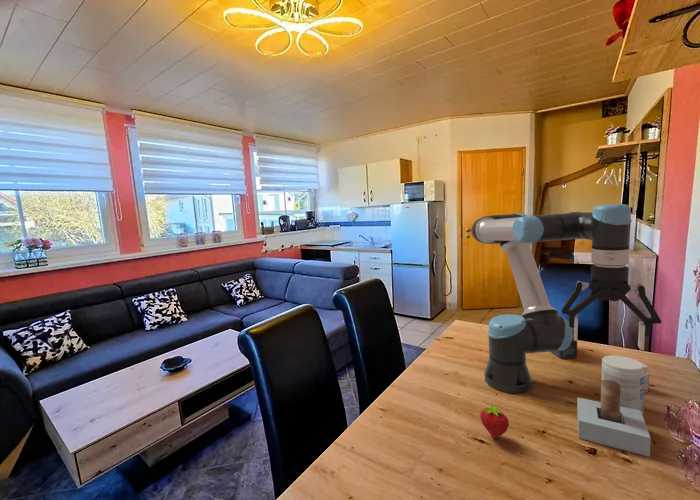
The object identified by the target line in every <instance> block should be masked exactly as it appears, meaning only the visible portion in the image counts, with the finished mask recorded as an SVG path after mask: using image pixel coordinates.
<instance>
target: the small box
mask: <svg viewBox="0 0 700 500" xmlns="http://www.w3.org/2000/svg"><path fill="white" fill-rule="evenodd" d="M572 332H573V338H572V341H571V344H570V346H569V347H568V348H567V349H565V350H561V351H556V352H551V353H552V354H553V355H554V356H556V357H558V358H559V359H561V360H563V359H564V360H565V359H577V358H578V340H577V341H574V328H572Z"/></svg>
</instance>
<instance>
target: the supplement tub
mask: <svg viewBox="0 0 700 500" xmlns="http://www.w3.org/2000/svg"><path fill="white" fill-rule="evenodd" d="M601 361H602V362H601V381H602V380H611V381H615V382H617V383H619V384H620V386H621V388H620V406H621V407H626V408H631V409H636V410H640V411H641V413H642V415H644V406H645V405H644V403H645V402H644V401H645V400H644V397H645V393H644V369H643V365H642V364H641V363H642V362H641V361H638V360H636V359H634V358H631V357H627V356H621V355H605V356H603V357H602V360H601Z"/></svg>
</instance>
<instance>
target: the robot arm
mask: <svg viewBox="0 0 700 500" xmlns="http://www.w3.org/2000/svg"><path fill="white" fill-rule="evenodd" d="M631 216H632V214H631V207H630V206H629V205H628V204H624V203H623V204H622V203H621V204H619V203H617V204H616V203H615V204H603V205H602V204H601V205H600V204H599V205H594V206H593V208H592V212H589V211H587V212H586V211H585V212H583V211H570V212H566V213H565V212H564V213H556V214H555V213H553V214H541V215H540V214H539V215H538V214H537V215H528V214H526V213H518V212H514V213H508V214H493V215H491V214H490V215H485V216H482V217H480V218H478V219H476V220H475V221H474V222H473V224H472V226H471V230H470V231H471V235H472V237H473V239H474V240H475V241H476V242H478V243H481V244H485V245H496V244H497V245H498V244H499V246H500V249H501V251H503V252H505V253H506V256H507V258H508V262H509V264H510V268H511V271H512V274H513V279H514V281H515V285H516V288H517V291H518V294H519V298H520V301H521V304H522V308H523V311H522V314H521V315H520V314H519V315H518V314H514V313H513V314H509V313H508V314H507V313H505V314H500V315H497V316H494V317H492V318H491V319H490V320H489V322H488V330H487V335H488V354H489V356H488V357H489V359H488V362H487V363H486V364H487V365H486V367H485V369H484V374H483V375H484V381H485V383H486V382H487V383H488V384H489V385H488V384H487V383H486V384H487V385H488V386H490V387H491V386H492V387H491V388H493V387H494V388H493V389H495V388H496V389H495V390H497V389H498V390H497V391H500V390H501V392H505V393H509V394H510V393H511V394H521V393H522V394H523V393H526V392H528V391H530V390H531V389H532V387H533V382H532V381H533V379H532V377H531V373H530V370H529V368H528V365H527V363H526V362H527V359H526V357H527V354H536V353H552V352H556V351H561V350H565V349H567V348H568V347H569V346H570V344H571V341H572V338H573V332H572V328H574V341H577V342H578V334H579V332H578V331H579V330H578V327H579V324H578V323H579V316H578V315H579V313H581V312H582V310H584V309H586V308H587V307H588V306H589V305H590V304H592V303H594V302H595V301H596V300H597V299H598V300H600V301H611V302H618V301H622V303H623V304H625V306H627V308H628V309H629V310H631V312H632V313H634V314H635V315H636V316H637V317H638V318H639V319H640V320H641V321H638V337H637V338H638V339H637V340H638V341H637V346H638V348H639V350H640V351H645V338H649V337H650V336H651V329H652V325H656V324H657V325H659V324H662V320H661V318H660V316H659V314H658V313H657V311H656V310H655V308H654V306H653V304H652V303H651V301H650V300H649V298H648V297H647V295H646V288H645V286H644V285H643V284H642V283H638V284H634V285H633V284H629V271H630V270H629V266H627V265H629V263H630V241H631V240H630V239H631V227H632V224H631V223H632V217H631ZM569 240H587V241H588V240H590V241H591V258H590V259H591V263H592V265H591V266H590V281H589V282H585V281H582V280H577V281H576V282H575V283H576V285H575V288H574V290H573V291H572V293H571V294H570V296H569V297H568V299H567V300H566V301H565V304H564V305H563V306H562V307H561V313H562V314H563V315H567V316H568V317H569V318H568V319H567V318H566V317H565V316H562V315H559V312H558V309H556V308H555V307H553V306H552V305H551V304H550V301H549V297H548V295H547V292H546V289H545V286H544V283H543V281H542V277H541V275H540V272H539V269H538V266H537V265H538V264H537V263H536V260H535V258H534V257H535V255H534V254H533V250H532V248H531V246H532V244H533V243H541V242H551V241H569ZM587 288H588V289H589V290H590V291H591V292H590V293H589V294H588V295H587V296H586V297H585V298H584V299H583V300H581V301H580V302H579V303H577V304H576V305H575V306H574V307H573V308H572V309H571V307H572V306H573V304H574V303H575V302H576V300H577V299H578V297H579V296H580V295H581V292H582V291H585V290H586V289H587ZM631 291H633V293H634V294H636V295H638V297H639V298H640V300H641V302H642V303H643V306H644V307H645V308H646V310H647V311H648V313H649V314H650V317H648V316H647V315H646V314H645V313H644V312H643V311H642V310H641V309H639V307H638V306H636V304H634V303H633V301H632V300H631V299H630V298H629V297H628V296H627V294H628V293H630V292H631Z"/></svg>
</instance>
